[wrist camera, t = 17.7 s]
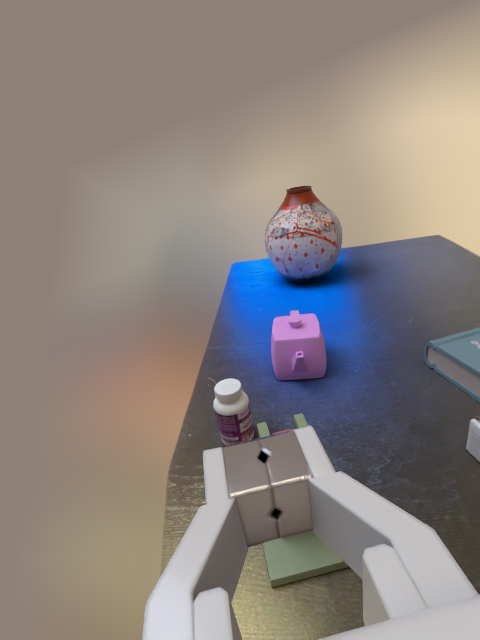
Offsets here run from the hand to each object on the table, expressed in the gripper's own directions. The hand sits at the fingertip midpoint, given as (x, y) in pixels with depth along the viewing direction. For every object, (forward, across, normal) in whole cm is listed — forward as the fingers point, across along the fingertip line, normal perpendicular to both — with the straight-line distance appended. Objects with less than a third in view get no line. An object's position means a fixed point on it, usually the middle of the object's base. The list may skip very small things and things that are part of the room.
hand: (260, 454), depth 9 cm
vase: (+97, -31, +32) cm, 107 cm away
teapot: (+50, -14, +32) cm, 61 cm away
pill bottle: (+35, +1, +32) cm, 47 cm away
